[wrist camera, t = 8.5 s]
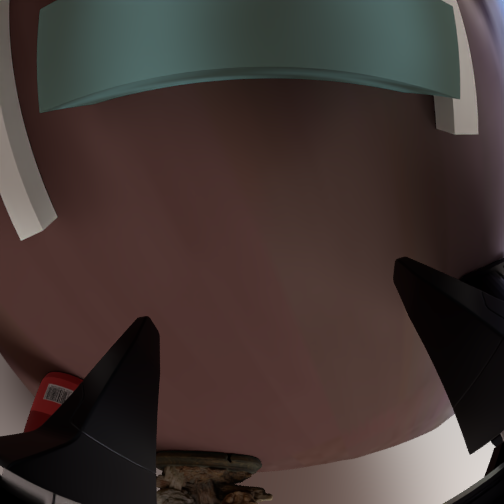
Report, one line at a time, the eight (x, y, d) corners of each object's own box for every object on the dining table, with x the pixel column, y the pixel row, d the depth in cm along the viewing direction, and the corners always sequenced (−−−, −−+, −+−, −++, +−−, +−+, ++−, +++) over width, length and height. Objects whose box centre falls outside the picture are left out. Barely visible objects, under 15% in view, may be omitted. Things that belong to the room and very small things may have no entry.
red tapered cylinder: (35, 377, 19) (7, 462, 10) (62, 361, 18) (28, 472, 8) (88, 414, 23) (73, 494, 14) (127, 404, 21) (113, 506, 12)
